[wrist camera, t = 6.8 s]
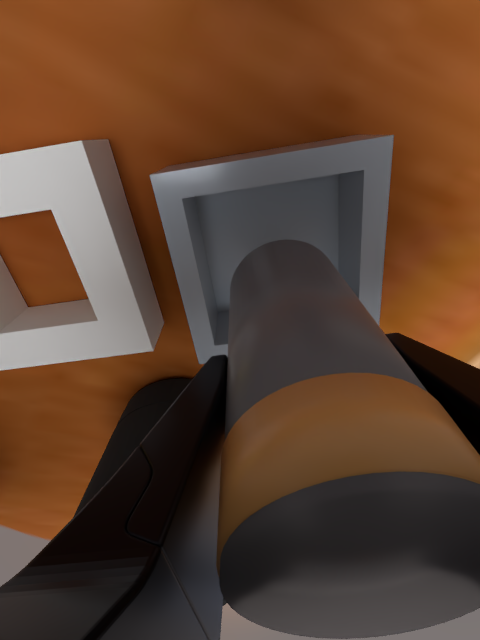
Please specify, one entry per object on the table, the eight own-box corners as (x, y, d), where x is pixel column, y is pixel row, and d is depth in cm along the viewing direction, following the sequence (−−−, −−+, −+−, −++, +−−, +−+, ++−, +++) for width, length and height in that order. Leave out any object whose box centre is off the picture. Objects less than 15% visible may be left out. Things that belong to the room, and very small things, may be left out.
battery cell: (237, 344, 13) (239, 648, 5) (219, 247, 11) (182, 507, 3) (338, 331, 13) (494, 630, 5) (339, 229, 11) (595, 467, 3)
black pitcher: (93, 411, 24) (11, 570, 15) (190, 347, 21) (157, 496, 12) (180, 475, 28) (154, 632, 19) (272, 427, 25) (290, 586, 16)
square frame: (11, 343, 21) (-22, 373, 18) (-91, 173, 16) (-155, 181, 13) (164, 322, 20) (153, 351, 17) (108, 139, 15) (81, 140, 13)
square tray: (205, 324, 20) (199, 364, 17) (168, 165, 16) (149, 175, 12) (352, 305, 20) (377, 342, 16) (357, 134, 15) (393, 134, 12)
